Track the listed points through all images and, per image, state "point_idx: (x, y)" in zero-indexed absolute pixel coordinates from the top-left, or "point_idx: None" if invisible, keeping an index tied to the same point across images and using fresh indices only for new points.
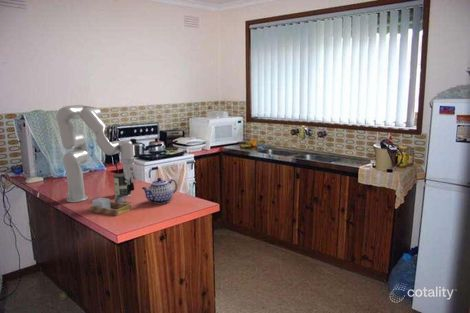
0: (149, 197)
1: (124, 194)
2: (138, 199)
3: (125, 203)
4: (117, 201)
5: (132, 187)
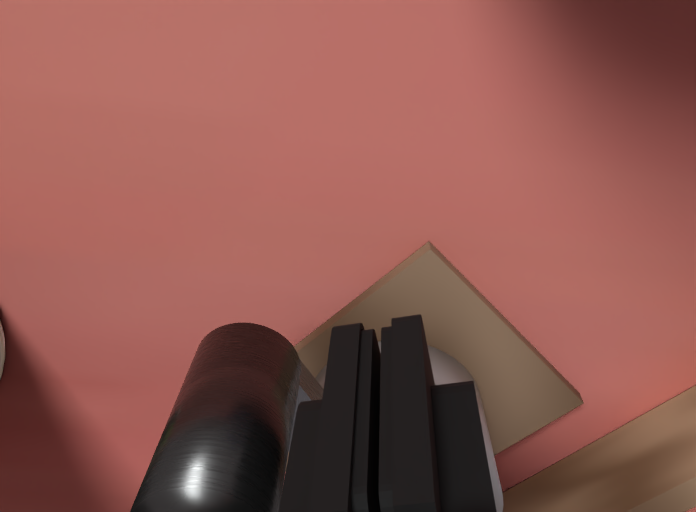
0: None
1: None
2: (244, 67)
3: (475, 344)
4: None
5: (480, 437)
